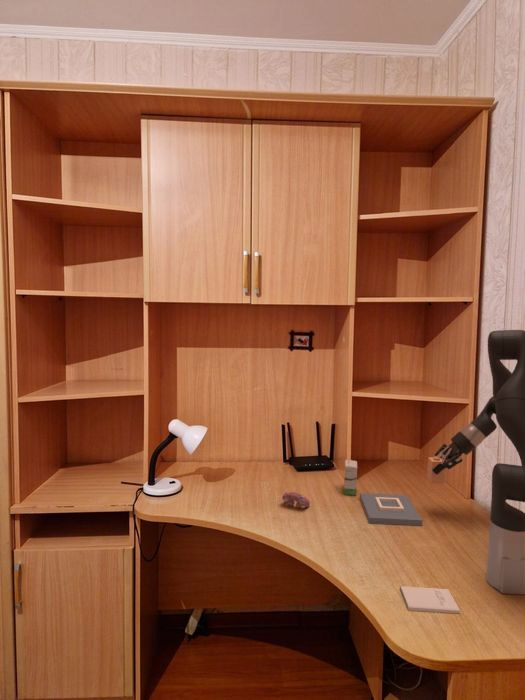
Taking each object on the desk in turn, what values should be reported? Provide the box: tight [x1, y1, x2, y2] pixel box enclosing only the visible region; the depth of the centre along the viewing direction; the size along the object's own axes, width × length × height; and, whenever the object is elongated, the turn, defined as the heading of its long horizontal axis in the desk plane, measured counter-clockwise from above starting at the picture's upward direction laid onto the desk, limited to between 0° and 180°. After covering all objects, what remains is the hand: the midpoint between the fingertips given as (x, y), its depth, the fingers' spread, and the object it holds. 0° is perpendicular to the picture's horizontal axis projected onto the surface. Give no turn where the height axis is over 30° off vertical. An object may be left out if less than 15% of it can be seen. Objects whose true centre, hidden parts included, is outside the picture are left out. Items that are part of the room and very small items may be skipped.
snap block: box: [426, 456, 446, 485], centre depth 155 cm, size 4×4×9 cm
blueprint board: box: [359, 492, 423, 527], centre depth 158 cm, size 20×18×3 cm
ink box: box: [343, 459, 358, 497], centre depth 174 cm, size 9×5×12 cm, turn 168°
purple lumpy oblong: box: [281, 490, 311, 509], centre depth 160 cm, size 10×5×7 cm, turn 62°
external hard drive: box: [399, 585, 461, 615], centre depth 109 cm, size 2×8×12 cm
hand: (432, 469), depth 156 cm, fingers closed on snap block, 4 cm apart
